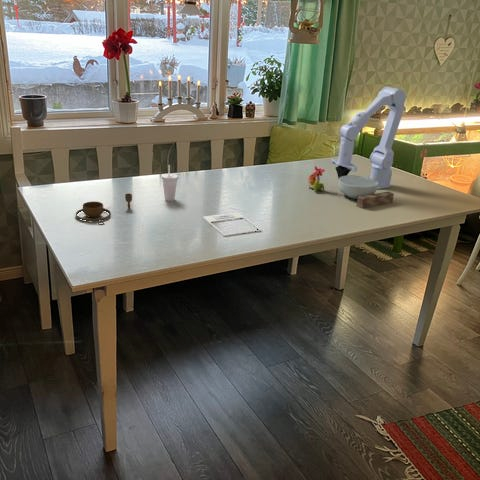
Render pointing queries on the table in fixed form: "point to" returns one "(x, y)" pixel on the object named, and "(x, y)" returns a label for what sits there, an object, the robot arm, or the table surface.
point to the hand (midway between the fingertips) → (341, 183)
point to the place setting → (98, 209)
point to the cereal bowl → (357, 186)
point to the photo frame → (228, 217)
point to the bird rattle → (316, 179)
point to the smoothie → (169, 185)
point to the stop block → (375, 199)
